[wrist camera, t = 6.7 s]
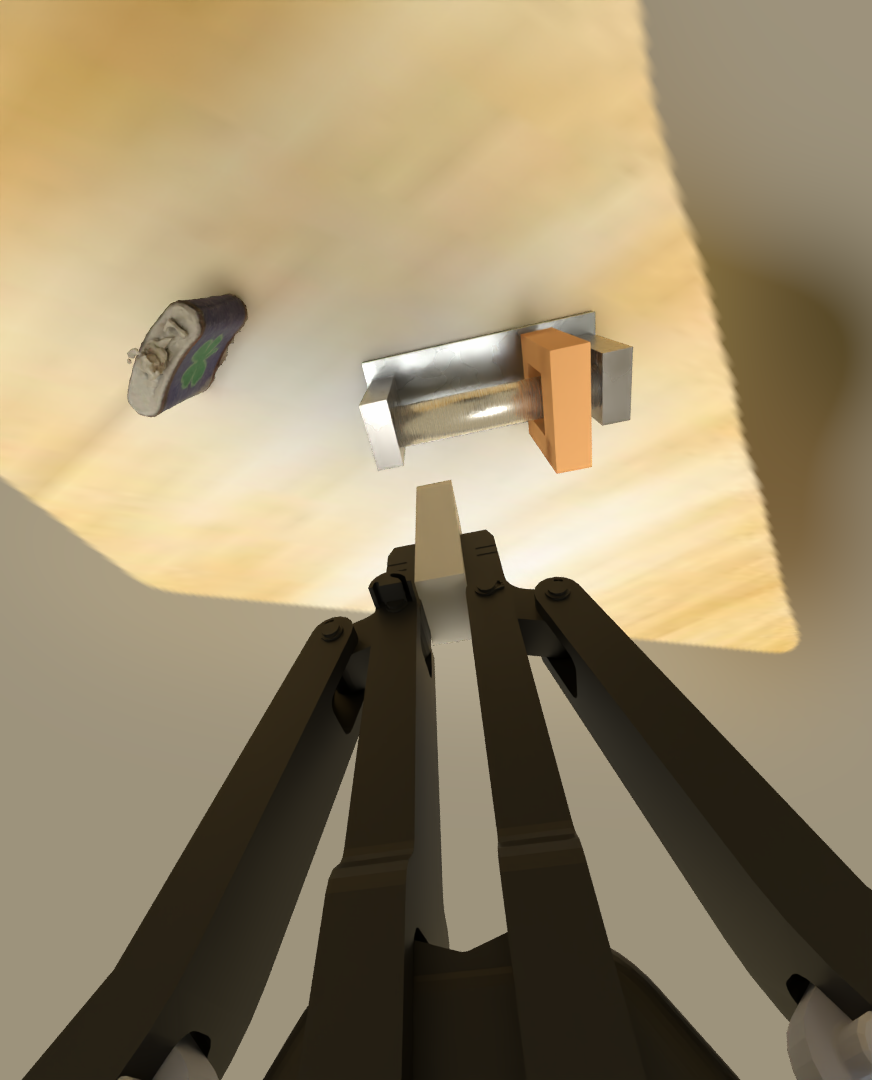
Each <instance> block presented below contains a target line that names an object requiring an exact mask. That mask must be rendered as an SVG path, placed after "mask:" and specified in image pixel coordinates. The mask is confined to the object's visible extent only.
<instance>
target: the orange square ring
mask: <svg viewBox="0 0 872 1080" xmlns="http://www.w3.org/2000/svg"><path fill="white" fill-rule="evenodd" d="M520 335H521V346H522V357H523V369H524V379H528V378H532V377H537V376H541V382H542V397H543V411H544V418H541V419H536V420H531V421H528V425H529V434H530V435H531V437H532V438H533V440H534V441H535V443H536V444H537V446H538V447H539V449H540V450H541V451H542V453H543V454H544V456H545V457H546V459H547V460H548V462H549V463H550V465H551V466H552V467H553V469H554V470H555V472H556V473H557V474H558V473H563V472H568V471H573V470H578V469H584V468H589V467H592V438H591V342H589V341H586V340H584V339H581V338H578V337H576V336H573V335H570V334H568V333H565V332H562V331H560V330H557V329H555V328H552V327H551V328H546V329H542V330H537V331H533V332H528V333H524V334H520Z"/></svg>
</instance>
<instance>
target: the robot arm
mask: <svg viewBox="0 0 872 1080" xmlns="http://www.w3.org/2000/svg"><path fill="white" fill-rule="evenodd" d="M368 589H369V591H370V594H371V597H372V599H373V602H374V605H375V607H376V610H375V613H373V614H372V615H371V616H369V617H367V618H365V619H363V620H360V621H358V622H356V623H354V624H352V621H351V620H349V619H348V618H346V617H334V618H331V619H328V620H326V621H324V622H322V623H321V624H320V625H318V626H317V627H316V628H315V630H314V631H313V632H312V634H311V636H310V637H309V639H308V641H307V642H306V644H305V646H304V648H303V649H302V651H301V653H300V654H299V656H298V658H297V659H296V661H295V663H294V665H293V666H292V668H291V670H290V671H289V673H288V675H287V676H286V678H285V680H284V682H283V683H282V685H281V687H280V688H279V690H278V692H277V693H276V695H275V697H274V699H273V700H272V702H271V704H270V705H269V707H268V709H267V710H266V712H265V714H264V716H263V717H262V719H261V721H260V722H259V724H258V726H257V727H256V729H255V731H254V733H253V734H252V736H251V738H250V739H249V741H248V743H247V744H246V746H245V748H244V750H243V751H242V753H241V755H240V756H239V758H238V760H237V761H236V763H235V765H234V767H233V768H232V770H231V772H230V773H229V775H228V777H227V778H226V780H225V782H224V784H223V785H222V787H221V789H220V790H219V792H218V794H217V795H216V797H215V799H214V801H213V802H212V804H211V806H210V807H209V809H208V811H207V813H206V814H205V816H204V817H203V819H202V821H201V823H200V824H199V826H198V828H197V829H196V831H195V833H194V835H193V836H192V838H191V840H190V841H189V843H188V845H187V846H186V848H185V850H184V852H183V853H182V855H181V857H180V858H179V860H178V862H177V863H176V865H175V867H174V869H173V870H172V872H171V874H170V875H169V877H168V879H167V881H166V882H165V884H164V886H163V887H162V889H161V891H160V892H159V894H158V896H157V897H156V899H155V901H154V902H153V904H152V906H151V908H150V909H149V911H148V913H147V914H146V916H145V918H144V919H143V921H142V923H141V925H140V926H139V928H138V930H137V931H136V933H135V935H134V936H133V938H132V940H131V942H130V943H129V945H128V947H127V948H126V950H125V952H124V954H123V955H122V957H121V959H120V960H119V962H118V964H117V965H116V967H115V969H114V970H113V972H112V973H111V974H110V975H109V976H108V977H107V979H106V980H105V981H104V982H103V983H102V985H101V986H100V987H99V988H98V989H97V991H96V992H95V993H94V994H93V995H92V996H91V998H90V999H89V1000H88V1001H87V1003H86V1004H85V1005H84V1006H83V1007H82V1008H81V1010H80V1011H79V1012H78V1013H77V1014H76V1016H75V1017H74V1018H73V1019H72V1020H71V1022H70V1023H69V1024H68V1025H67V1026H66V1028H65V1029H64V1030H63V1032H61V1034H60V1035H59V1036H58V1037H57V1038H56V1040H55V1041H54V1042H53V1043H52V1044H51V1045H50V1047H49V1048H48V1049H47V1050H46V1051H45V1053H44V1054H43V1055H42V1056H41V1057H40V1059H39V1060H38V1061H37V1062H36V1063H35V1065H34V1066H33V1067H32V1068H31V1069H30V1071H29V1072H28V1073H27V1074H26V1075H25V1077H24V1078H23V1079H22V1080H221V1079H222V1077H223V1075H224V1073H225V1072H226V1070H227V1068H228V1066H229V1065H230V1063H231V1061H232V1059H233V1057H234V1055H235V1053H236V1051H237V1049H238V1047H239V1045H240V1043H241V1041H242V1039H243V1036H244V1034H245V1032H246V1030H247V1028H248V1026H249V1024H250V1022H251V1020H252V1017H253V1015H254V1012H255V1010H256V1007H257V1005H258V1002H259V1000H260V997H261V995H262V993H263V990H264V988H265V986H266V983H267V980H268V978H269V975H270V972H271V970H272V967H273V964H274V961H275V959H276V956H277V953H278V951H279V948H280V945H281V943H282V940H283V937H284V934H285V932H286V929H287V926H288V924H289V921H290V919H291V916H292V913H293V911H294V908H295V905H296V902H297V900H298V897H299V894H300V892H301V889H302V886H303V883H304V881H305V878H306V876H307V873H308V870H309V868H310V865H311V862H312V860H313V856H314V854H315V851H316V849H317V846H318V843H319V841H320V838H321V835H322V833H323V830H324V827H325V824H326V822H327V819H328V817H329V814H330V811H331V809H332V806H333V803H334V800H335V798H336V795H337V792H338V790H339V787H340V784H341V782H342V779H343V776H344V774H345V771H346V768H347V766H348V762H349V760H350V758H351V755H352V752H353V750H354V747H355V744H356V741H357V739H358V736H359V740H358V748H357V756H356V763H355V771H354V778H353V786H352V794H351V802H350V810H349V817H348V825H347V832H346V840H345V847H344V853H343V858H342V860H341V862H340V864H339V865H337V866H336V867H335V868H334V869H333V870H332V873H331V875H330V877H329V880H328V885H327V889H326V894H325V900H324V907H323V914H322V921H321V927H320V934H319V940H318V947H317V953H316V960H315V967H314V973H313V980H312V986H311V993H310V1000H309V1006H308V1007H307V1009H306V1010H305V1011H304V1013H303V1014H302V1016H301V1017H300V1019H299V1021H298V1022H297V1024H296V1025H295V1027H294V1029H293V1030H292V1032H291V1034H290V1035H289V1037H288V1039H287V1040H286V1042H285V1044H284V1046H283V1047H282V1049H281V1050H280V1052H279V1054H278V1056H277V1057H276V1059H275V1060H274V1062H273V1064H272V1065H271V1067H270V1069H269V1070H268V1072H267V1074H266V1076H265V1078H264V1079H263V1080H740V1079H739V1078H738V1076H737V1075H736V1074H735V1073H734V1072H733V1071H732V1070H731V1069H730V1068H729V1066H728V1065H727V1064H726V1063H725V1062H724V1061H723V1060H722V1059H721V1057H720V1056H719V1055H718V1054H717V1053H716V1052H715V1051H714V1050H713V1048H712V1047H711V1046H710V1045H709V1044H708V1043H707V1042H706V1041H705V1040H704V1038H703V1037H702V1036H701V1035H700V1034H699V1033H698V1032H697V1031H696V1029H695V1028H694V1027H693V1026H692V1025H691V1024H690V1023H689V1022H688V1020H687V1019H686V1018H685V1017H684V1016H683V1015H682V1014H681V1013H680V1011H679V1010H678V1009H677V1008H676V1007H675V1006H674V1005H673V1004H672V1003H671V1001H670V1000H669V999H668V998H667V997H666V996H665V995H664V994H663V992H662V991H661V990H660V989H659V988H658V987H657V986H656V985H655V984H654V983H653V982H652V981H651V979H650V978H649V977H648V976H646V975H645V974H644V973H643V972H642V971H641V970H640V969H639V968H638V967H637V966H635V965H634V964H633V963H632V962H631V961H629V960H628V959H626V958H625V957H624V956H622V955H621V954H620V953H618V952H616V951H614V950H613V949H611V948H610V945H609V941H608V938H607V935H606V930H605V927H604V923H603V920H602V916H601V912H600V909H599V905H598V901H597V898H596V894H595V891H594V887H593V884H592V880H591V877H590V873H589V869H588V865H587V862H586V858H585V855H584V851H583V848H582V845H581V842H580V840H579V837H578V836H577V834H576V832H575V829H574V826H573V822H572V819H571V815H570V812H569V808H568V804H567V800H566V797H565V793H564V789H563V786H562V782H561V778H560V775H559V771H558V767H557V763H556V760H555V756H554V752H553V749H552V745H551V741H550V737H549V734H548V730H547V726H546V723H545V719H544V715H543V712H542V708H541V704H540V700H539V697H538V693H537V689H536V686H535V682H534V679H533V675H532V671H531V667H530V663H529V660H528V656H527V655H532V656H541V657H542V660H543V662H544V663H545V665H546V666H547V668H548V670H549V671H550V673H551V674H552V676H553V677H554V679H555V680H556V682H557V683H558V685H559V686H560V688H561V689H562V691H563V692H564V694H565V696H566V697H567V698H568V700H569V702H570V703H571V705H572V706H573V708H574V709H575V711H576V712H577V714H578V715H579V717H580V718H581V720H582V721H583V723H584V725H585V726H586V727H587V729H588V731H589V732H590V733H591V735H592V737H593V738H594V740H595V741H596V743H597V744H598V746H599V747H600V749H601V751H602V752H603V754H604V755H605V757H606V758H607V760H608V761H609V763H610V764H611V766H612V767H613V769H614V770H615V772H616V773H617V775H618V777H619V778H620V779H621V781H622V783H623V784H624V786H625V787H626V789H627V790H628V792H629V793H630V795H631V796H632V798H633V799H634V801H635V802H636V804H637V805H638V807H639V808H640V810H641V811H642V813H643V815H644V816H645V818H646V819H647V821H648V822H649V824H650V825H651V827H652V828H653V830H654V831H655V833H656V834H657V836H658V837H659V839H660V841H661V842H662V844H663V845H664V847H665V848H666V850H667V851H668V853H669V854H670V856H671V857H672V859H673V861H674V862H675V864H676V865H677V867H678V868H679V870H680V871H681V873H682V874H683V876H684V877H685V879H686V880H687V882H688V883H689V885H690V886H691V888H692V890H693V891H694V893H695V894H696V896H697V897H698V899H699V900H700V902H701V903H702V905H703V906H704V908H705V909H706V911H707V912H708V914H709V915H710V917H711V919H712V920H713V922H714V923H715V925H716V926H717V928H718V929H719V931H720V932H721V934H722V935H723V937H724V938H725V940H726V941H727V943H728V944H729V945H730V947H731V948H732V950H733V951H734V952H735V954H736V955H737V957H738V958H739V960H740V961H741V962H742V964H743V965H744V967H745V968H746V970H747V971H748V972H749V973H750V975H751V976H752V978H753V979H754V980H755V981H756V982H757V984H758V985H759V986H760V987H761V989H762V990H763V991H764V992H765V993H766V995H767V996H768V997H769V998H770V1000H771V1001H772V1002H773V1003H774V1004H775V1006H776V1007H777V1008H778V1009H779V1010H780V1012H781V1013H782V1014H783V1015H784V1016H785V1017H786V1019H788V1021H789V1022H790V1023H789V1027H788V1031H787V1051H788V1054H789V1058H790V1062H791V1065H792V1069H793V1072H794V1074H795V1076H796V1078H797V1080H872V890H871V889H870V888H868V887H867V886H866V885H865V884H864V883H863V882H862V881H861V880H860V879H859V878H858V877H857V876H856V875H855V874H854V873H853V872H852V871H851V870H850V869H849V867H848V866H847V865H846V864H845V863H844V862H843V861H842V860H841V859H840V858H839V857H838V856H837V855H836V854H835V853H834V852H833V851H832V850H831V849H830V848H829V846H828V845H827V844H826V843H825V842H824V841H823V840H822V839H821V838H820V837H819V836H818V835H817V834H816V833H815V832H814V831H813V830H812V829H811V828H810V827H809V826H808V824H806V822H805V821H804V820H803V819H802V818H801V817H800V816H799V815H798V814H797V813H796V812H795V811H794V810H793V809H792V808H791V807H790V806H789V805H788V803H787V802H786V801H785V800H784V799H783V798H782V797H781V796H780V795H779V794H778V793H777V792H776V791H775V790H774V789H773V788H772V787H771V786H770V785H769V784H768V783H767V781H765V779H764V778H763V777H762V776H761V775H760V774H759V773H758V772H757V771H756V770H755V769H754V768H753V767H752V766H751V765H750V764H749V763H748V762H747V761H746V759H745V758H744V757H743V756H742V755H741V754H740V753H739V752H738V751H737V750H736V749H735V748H734V747H733V746H732V745H731V744H730V743H729V742H728V741H727V740H726V738H724V736H723V735H722V734H721V733H720V732H719V731H718V730H717V729H716V728H715V727H714V726H713V725H712V724H711V723H710V722H709V721H708V720H707V719H706V718H705V716H704V715H703V714H702V713H701V712H700V711H699V710H698V709H697V708H696V707H695V706H694V705H693V704H692V703H691V702H690V701H689V700H688V699H687V698H686V697H685V695H683V694H682V692H681V691H680V690H679V689H678V688H677V687H676V686H675V685H674V684H673V683H672V682H671V681H670V680H669V679H668V678H667V677H666V676H665V675H664V674H663V672H662V671H661V670H660V669H659V668H658V667H657V666H656V665H655V664H654V663H653V662H652V661H651V660H650V659H649V658H648V657H647V656H646V655H645V654H644V653H643V651H642V650H641V649H640V648H639V647H638V646H637V645H636V644H635V643H634V642H633V641H632V640H631V639H630V638H629V637H628V636H627V635H626V634H625V633H624V632H623V630H622V629H621V628H620V627H619V626H618V625H617V624H616V623H615V622H614V621H613V620H612V619H611V618H610V617H609V616H608V615H607V614H606V613H605V612H604V611H603V610H602V608H601V607H600V606H599V605H598V604H597V603H596V602H595V601H594V600H593V599H592V598H591V597H590V596H589V595H588V594H587V593H586V592H585V591H584V590H583V589H582V587H581V586H580V585H579V584H577V583H576V582H575V581H573V580H571V579H568V578H564V577H553V578H548V579H545V580H543V581H541V582H540V583H539V584H538V585H537V586H536V587H535V590H534V589H522V588H518V587H515V586H513V585H511V584H509V583H508V582H507V581H506V579H505V577H504V573H503V570H502V566H501V562H500V558H499V555H498V551H497V547H496V544H495V540H494V536H493V535H492V534H491V533H489V532H488V531H487V530H482V531H476V532H471V533H466V534H462V531H461V526H460V521H459V516H458V512H457V507H456V502H455V497H454V492H453V487H452V482H451V480H448V481H443V482H438V483H433V484H428V485H423V486H418V487H417V492H416V536H415V544H413V545H407V546H402V547H397V548H394V549H393V551H392V552H391V553H390V555H389V556H388V563H387V571H386V573H383V574H381V575H379V576H378V577H376V578H375V579H374V580H373V581H372V582H371V583H370V585H369V588H368ZM470 639H472V645H473V653H474V660H475V668H476V675H477V683H478V690H479V698H480V706H481V713H482V721H483V728H484V736H485V744H486V751H487V759H488V766H489V774H490V781H491V788H492V797H493V804H494V811H495V819H496V827H497V835H498V858H499V867H500V875H501V883H502V891H503V899H504V907H505V914H506V922H507V930H508V932H507V933H505V934H503V935H501V936H499V937H496V938H495V939H492V940H490V941H488V942H486V943H484V944H482V945H480V946H478V947H476V948H474V949H472V950H470V951H466V952H459V951H455V950H450V949H449V939H448V931H447V925H446V919H445V914H444V905H443V887H442V862H441V832H440V804H439V776H438V750H437V721H436V695H435V666H434V656H433V653H432V649H431V640H432V643H433V646H434V645H440V644H446V643H452V642H458V641H464V640H470Z"/></svg>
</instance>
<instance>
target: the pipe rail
mask: <svg viewBox="0 0 872 1080" xmlns="http://www.w3.org/2000/svg"><path fill="white" fill-rule="evenodd" d="M551 327H552V328H555V329H557V330H560V331H562V332H565V333H568V334H570V335H573V336H576V337H578V338H581V339H584V340H586V341H589V342H591V417H593V418H594V419H595V420H596V421H598V422H599V423H600V424H601V425H602V426H603V425H608V424H612V423H617V422H622V421H627V420H630V411H631V385H632V359H633V347H632V346H629V345H626V344H623V343H620V342H616V341H613V340H610V339H607V338H604V337H601V336H598V335H595V312H594V311H590V312H586V313H581V314H577V315H572V316H568V317H563V318H559V319H554V320H550V321H545V322H541V323H536V324H532V325H527V326H523V327H519V328H514V329H510V330H505V331H501V332H496V333H492V334H487V335H483V336H478V337H474V338H469V339H465V340H460V341H456V342H452V343H447V344H443V345H438V346H434V347H429V348H425V349H420V350H416V351H411V352H407V353H402V354H398V355H393V356H389V357H385V358H380V359H376V360H371V361H367V362H363V363H362V368H363V371H364V375H365V378H366V382H367V386H368V389H367V391H366V393H365V395H364V397H363V399H362V401H361V403H360V405H359V407H360V411H361V414H362V418H363V421H364V425H365V428H366V431H367V435H368V438H369V442H370V445H371V448H372V452H373V455H374V459H375V462H376V466H377V469H378V471H379V470H384V469H389V468H394V467H399V466H403V465H404V456H405V447H407V446H412V445H417V444H422V443H427V442H432V441H437V440H441V439H446V438H451V437H456V436H461V435H466V434H471V433H476V432H480V431H485V430H490V429H495V428H500V427H505V426H510V425H515V424H519V423H524V422H528V421H531V420H536V419H541V418H544V411H543V397H542V382H541V376H537V377H532V378H528V379H524V369H523V357H522V346H521V335H520V334H524V333H528V332H533V331H537V330H542V329H546V328H551Z"/></svg>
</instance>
